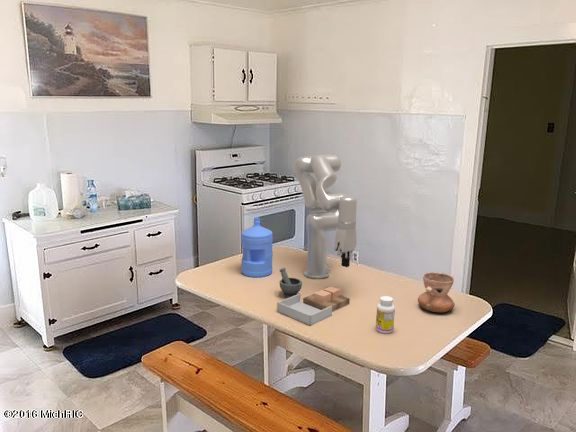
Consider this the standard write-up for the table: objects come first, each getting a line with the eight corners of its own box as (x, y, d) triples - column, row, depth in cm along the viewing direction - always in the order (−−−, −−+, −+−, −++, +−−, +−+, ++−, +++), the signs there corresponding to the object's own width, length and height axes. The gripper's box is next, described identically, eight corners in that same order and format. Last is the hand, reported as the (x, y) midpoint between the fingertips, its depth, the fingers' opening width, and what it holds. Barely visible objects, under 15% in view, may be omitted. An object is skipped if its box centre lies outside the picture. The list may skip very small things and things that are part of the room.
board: (324, 294, 217) (324, 289, 217) (349, 303, 208) (349, 298, 207) (303, 303, 208) (303, 298, 207) (328, 313, 198) (328, 307, 198)
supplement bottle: (373, 326, 188) (375, 294, 185) (390, 325, 188) (392, 294, 185) (378, 334, 181) (380, 302, 178) (395, 333, 182) (397, 301, 179)
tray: (298, 302, 209) (299, 293, 208) (331, 315, 197) (332, 306, 196) (277, 311, 199) (277, 302, 198) (310, 325, 187) (310, 316, 186)
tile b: (321, 296, 209) (322, 290, 208) (331, 299, 206) (331, 293, 205) (314, 299, 205) (314, 293, 205) (323, 303, 202) (323, 296, 201)
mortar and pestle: (305, 296, 215) (306, 270, 213) (291, 302, 209) (292, 275, 206) (287, 289, 223) (287, 264, 220) (272, 295, 216) (273, 269, 213)
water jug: (254, 265, 255) (254, 212, 248) (278, 271, 246) (279, 217, 239) (234, 273, 243) (234, 218, 236) (259, 280, 234) (259, 223, 227)
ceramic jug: (441, 319, 194) (445, 286, 191) (409, 308, 204) (412, 276, 201) (461, 307, 207) (465, 276, 204) (430, 297, 217) (433, 267, 213)
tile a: (330, 292, 213) (330, 286, 212) (339, 296, 210) (340, 289, 209) (323, 295, 210) (323, 289, 209) (332, 299, 206) (332, 292, 206)
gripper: (350, 221, 216) (348, 260, 220) (328, 226, 206) (327, 268, 210) (364, 223, 211) (362, 264, 215) (343, 229, 201) (341, 272, 205)
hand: (345, 266), depth 213 cm, fingers closed
